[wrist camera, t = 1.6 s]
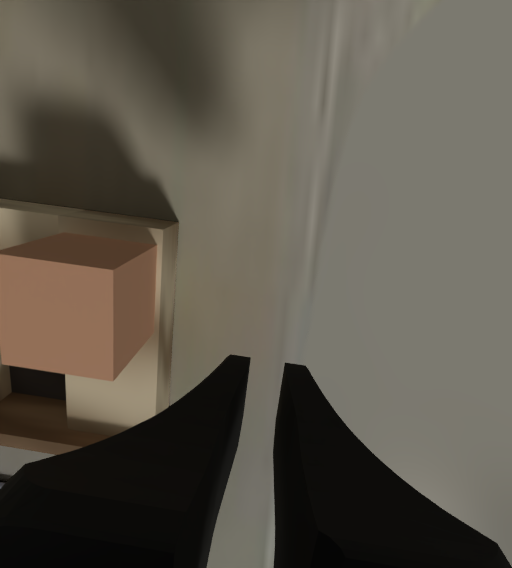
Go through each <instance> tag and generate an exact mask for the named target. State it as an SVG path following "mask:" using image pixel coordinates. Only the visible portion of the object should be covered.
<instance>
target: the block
mask: <svg viewBox="0 0 512 568" xmlns="http://www.w3.org/2000/svg"><path fill="white" fill-rule="evenodd" d="M156 265H157V245H154V244H147V243H139V242H132V241H125V240H117V239H110V238H103V237H95V236H88V235H81V234H73V233H66V232H63V233H59V234H56V235H52V236H49V237H45V238H41V239H38V240H34V241H31V242H27V243H24V244H20V245H16V246H13V247H9V248H6V249H2V250H0V351H1V360H2V364H4V365H10V366H16V367H23V368H29V369H36V370H42V371H49V372H55V373H61V374H68V375H74V376H81V377H87V378H93V379H100V380H106V381H114V380H115V379H116V378H117V377H118V375H119V374H120V373H121V372H122V370H123V369H124V368H125V367H126V366H127V364H128V363H129V362H130V361H131V360H132V358H133V357H134V356H135V355H136V354H137V352H138V351H139V350H140V349H141V348H142V346H143V345H144V344H145V343H146V342H147V340H148V339H149V338H150V337H151V336H152V334H153V333H154V318H155V292H156Z"/></svg>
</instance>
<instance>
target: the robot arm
mask: <svg viewBox="0 0 512 568" xmlns="http://www.w3.org/2000/svg"><path fill="white" fill-rule="evenodd" d="M249 366H250V357H244V356H237V355H229V356H228V357H226V359H225V360H224V361H223V362H222V363H221V364H220V365H219V366H218V367H217V368H216V369H215V370H214V371H213V372H212V373H211V374H210V375H209V376H208V377H206V378H205V379H204V380H203V381H202V382H201V383H200V384H199V385H197V386H196V387H195V388H194V389H192V390H191V391H190V392H189V393H187V394H186V395H185V396H183V397H182V398H181V399H179V400H178V401H177V402H175V403H174V404H172V405H171V406H169V407H168V408H166V409H165V410H163V411H162V412H160V413H158V414H157V415H155V416H153V417H151V418H149V419H147V420H145V421H143V422H141V423H139V424H137V425H135V426H133V427H131V428H129V429H127V430H125V431H123V432H121V433H119V434H116V435H114V436H111V437H109V438H106V439H104V440H101V441H99V442H96V443H93V444H91V445H88V446H85V447H82V448H79V449H76V450H73V451H70V452H66V453H63V454H60V455H56V456H53V457H49V458H46V459H42V460H39V461H35V462H32V463H28V464H25V465H24V466H23V467H22V468H21V469H20V470H19V471H17V472H16V473H15V474H14V475H13V476H12V477H11V478H10V479H9V480H8V481H7V482H6V483H2V482H0V568H206V567H207V562H208V557H209V552H210V547H211V542H212V537H213V532H214V528H215V524H216V520H217V516H218V513H219V509H220V506H221V502H222V499H223V495H224V492H225V489H226V485H227V482H228V478H229V475H230V471H231V468H232V464H233V461H234V458H235V454H236V451H237V447H238V442H239V437H240V431H241V425H242V419H243V413H244V405H245V397H246V390H247V382H248V374H249ZM273 463H274V499H275V555H274V568H512V567H511V565H510V563H509V562H508V560H507V559H506V557H505V555H504V554H503V552H502V551H501V549H500V547H499V546H498V544H497V543H496V542H494V541H492V540H491V539H489V538H488V537H486V536H484V535H483V534H481V533H480V532H478V531H476V530H475V529H473V528H471V527H470V526H468V525H467V524H465V523H464V522H462V521H460V520H459V519H457V518H456V517H454V516H452V515H451V514H449V513H448V512H446V511H445V510H443V509H442V508H440V507H439V506H437V505H436V504H435V503H433V502H432V501H431V500H429V499H428V498H426V497H425V496H424V495H422V494H421V493H419V492H418V491H417V490H415V489H414V488H413V487H412V486H410V485H409V484H408V483H406V482H405V481H404V480H403V479H401V478H400V477H399V476H398V475H397V474H395V473H394V472H393V471H392V470H391V469H390V468H388V467H387V466H386V465H385V464H384V463H383V462H382V461H380V460H379V459H378V458H377V457H376V456H375V455H374V454H373V453H372V452H371V451H370V450H369V449H368V448H367V447H366V446H365V445H364V444H363V443H362V442H361V441H360V440H359V439H358V438H357V437H356V436H355V435H354V434H353V432H351V430H350V429H349V428H348V427H347V426H346V424H345V423H344V422H343V421H342V419H341V418H340V417H339V416H338V415H337V413H336V412H335V411H334V409H333V408H332V406H331V405H330V403H329V402H328V401H327V399H326V398H325V396H324V395H323V393H322V392H321V390H320V389H319V387H318V385H317V384H316V382H315V380H314V379H313V377H312V375H311V373H310V372H309V370H308V369H307V367H306V366H304V365H297V364H290V363H285V366H284V372H283V379H282V385H281V391H280V397H279V404H278V410H277V416H276V424H275V436H274V448H273Z"/></svg>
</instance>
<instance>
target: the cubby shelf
mask: <svg viewBox="0 0 512 568" xmlns="http://www.w3.org/2000/svg"><path fill="white" fill-rule="evenodd" d="M178 227H179V222H174V221H166V220H159V219H151V218H144V217H136V216H129V215H121V214H114V213H106V212H99V211H91V210H84V209H76V208H68V207H61V206H53V205H46V204H38V203H31V202H23V201H16V200H8V199H1V198H0V250H2V249H6V248H9V247H13V246H16V245H20V244H24V243H27V242H31V241H34V240H38V239H41V238H45V237H49V236H52V235H56V234H59V233H63V232H66V233H73V234H81V235H88V236H95V237H103V238H110V239H117V240H125V241H132V242H139V243H147V244H154V245H157V265H156V292H155V318H154V333H153V334H152V336H151V337H150V338H149V339H148V340H147V342H146V343H145V344H144V345H143V346H142V348H141V349H140V350H139V351H138V352H137V354H136V355H135V356H134V357H133V358H132V360H131V361H130V362H129V363H128V364H127V366H126V367H125V368H124V369H123V370H122V372H121V373H120V374H119V375H118V377H117V378H116V379H115V380H114V381H106V380H100V379H93V378H87V377H81V376H74V375H68V374H61V373H55V372H49V371H42V370H36V369H29V368H23V367H16V366H10V365H4V364H2V360H1V351H0V445H1V446H7V447H13V448H19V449H25V450H31V451H37V452H43V453H49V454H55V455H60V454H63V453H66V452H70V451H73V450H76V449H79V448H82V447H85V446H88V445H91V444H93V443H96V442H99V441H101V440H104V439H106V438H109V437H111V436H114V435H116V434H119V433H121V432H123V431H125V430H127V429H129V428H131V427H133V426H135V425H137V424H139V423H141V422H143V421H145V420H147V419H149V418H151V417H153V416H155V415H157V414H158V413H160V412H162V411H163V410H165V409H166V408H168V407H169V393H170V374H171V356H172V338H173V319H174V301H175V282H176V264H177V245H178Z"/></svg>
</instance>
